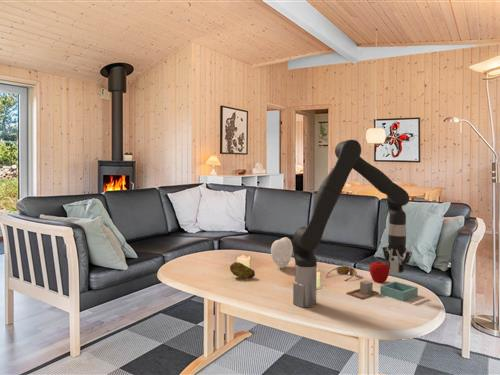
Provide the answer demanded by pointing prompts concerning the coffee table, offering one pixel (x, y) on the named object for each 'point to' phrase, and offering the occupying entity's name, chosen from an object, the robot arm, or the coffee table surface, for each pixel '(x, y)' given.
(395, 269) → the matte taupe cube
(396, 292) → the teal open box
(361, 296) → the tray
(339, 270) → the sunglasses
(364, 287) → the block
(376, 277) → the apple
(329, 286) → the coffee table surface
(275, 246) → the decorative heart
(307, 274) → the robot arm
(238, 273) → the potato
